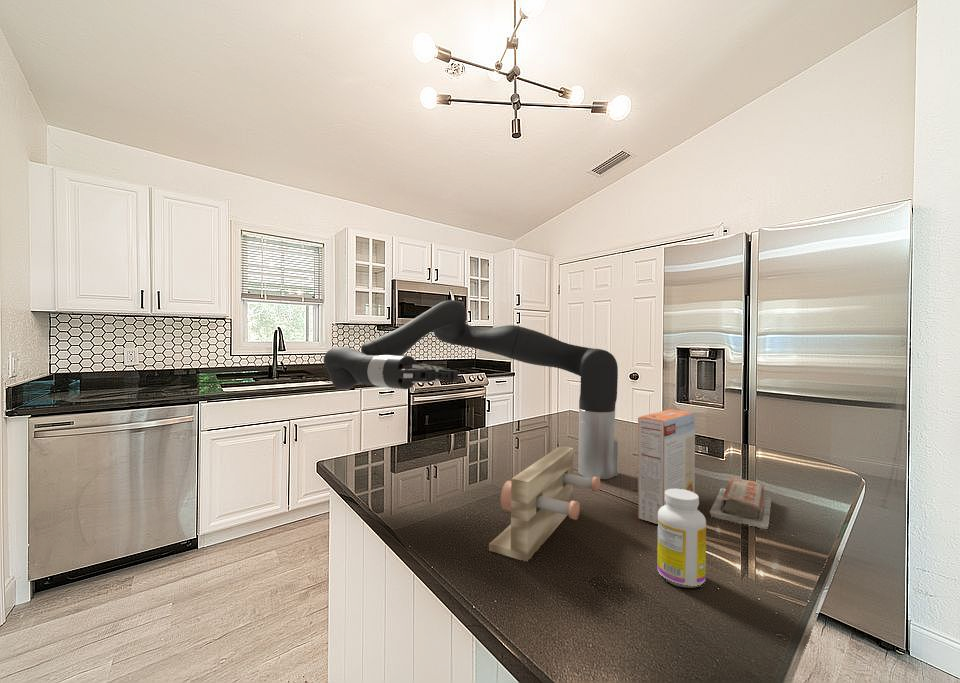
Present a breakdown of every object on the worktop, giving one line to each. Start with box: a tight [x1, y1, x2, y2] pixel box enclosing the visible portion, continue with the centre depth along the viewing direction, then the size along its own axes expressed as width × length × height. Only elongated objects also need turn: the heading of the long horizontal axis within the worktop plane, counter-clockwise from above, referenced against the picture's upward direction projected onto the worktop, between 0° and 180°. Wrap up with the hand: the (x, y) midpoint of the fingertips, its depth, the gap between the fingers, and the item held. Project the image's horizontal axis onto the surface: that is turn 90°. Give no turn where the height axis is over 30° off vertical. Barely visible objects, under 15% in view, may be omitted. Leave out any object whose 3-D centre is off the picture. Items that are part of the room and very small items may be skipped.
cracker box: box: [637, 408, 696, 524], centre depth 86 cm, size 14×6×21 cm, turn 131°
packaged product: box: [709, 477, 772, 529], centre depth 89 cm, size 18×5×10 cm
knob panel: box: [488, 445, 574, 563], centre depth 79 cm, size 7×24×13 cm, turn 150°
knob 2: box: [535, 460, 601, 493], centre depth 84 cm, size 13×5×5 cm, turn 60°
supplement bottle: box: [656, 489, 707, 586], centre depth 63 cm, size 7×7×13 cm
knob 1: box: [500, 480, 581, 521], centre depth 71 cm, size 13×5×5 cm, turn 60°
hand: (456, 375), depth 87 cm, fingers closed
